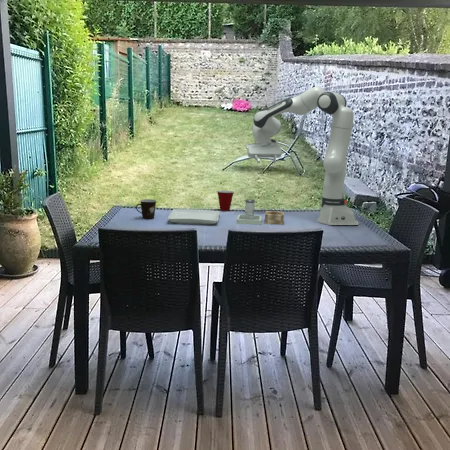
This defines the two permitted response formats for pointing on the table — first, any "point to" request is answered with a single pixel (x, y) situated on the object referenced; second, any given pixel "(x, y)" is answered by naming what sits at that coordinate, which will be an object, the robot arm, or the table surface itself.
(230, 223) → the table surface
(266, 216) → the holder
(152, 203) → the coffee mug
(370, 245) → the table surface
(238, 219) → the tray
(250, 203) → the canister
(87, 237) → the table surface
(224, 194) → the plastic cup
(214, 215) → the square plate
